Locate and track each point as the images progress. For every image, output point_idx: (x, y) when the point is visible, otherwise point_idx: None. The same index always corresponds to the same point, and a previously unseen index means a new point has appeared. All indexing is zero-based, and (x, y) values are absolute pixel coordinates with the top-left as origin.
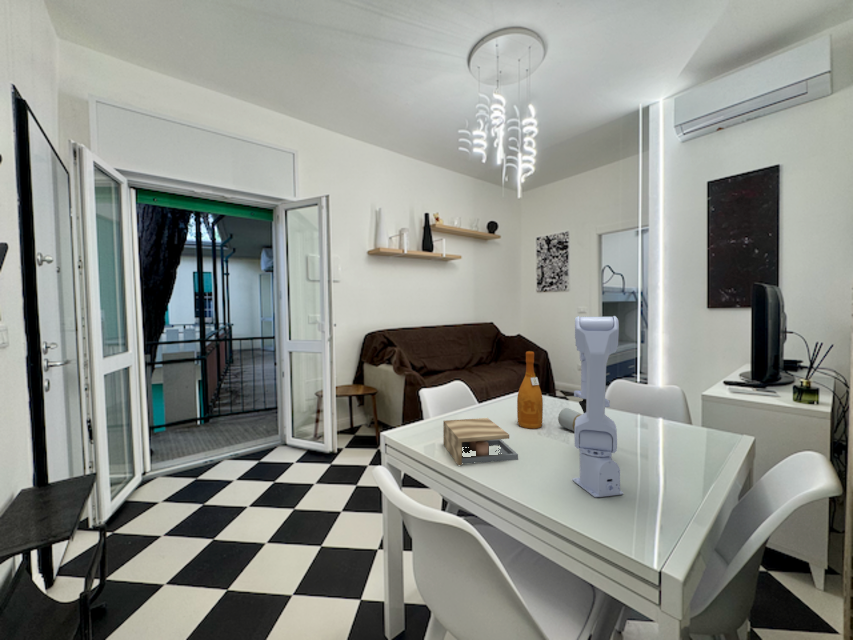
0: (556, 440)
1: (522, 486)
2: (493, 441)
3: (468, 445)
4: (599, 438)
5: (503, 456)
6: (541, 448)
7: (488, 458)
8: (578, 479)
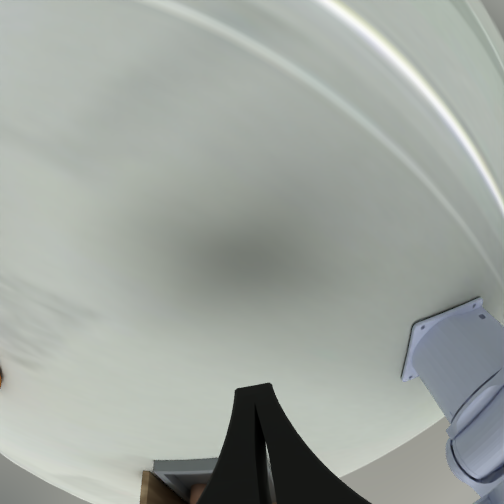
0: (71, 340)
1: (382, 439)
2: (169, 477)
3: (189, 493)
4: None
5: (270, 474)
6: (170, 406)
7: (273, 483)
8: (411, 371)
